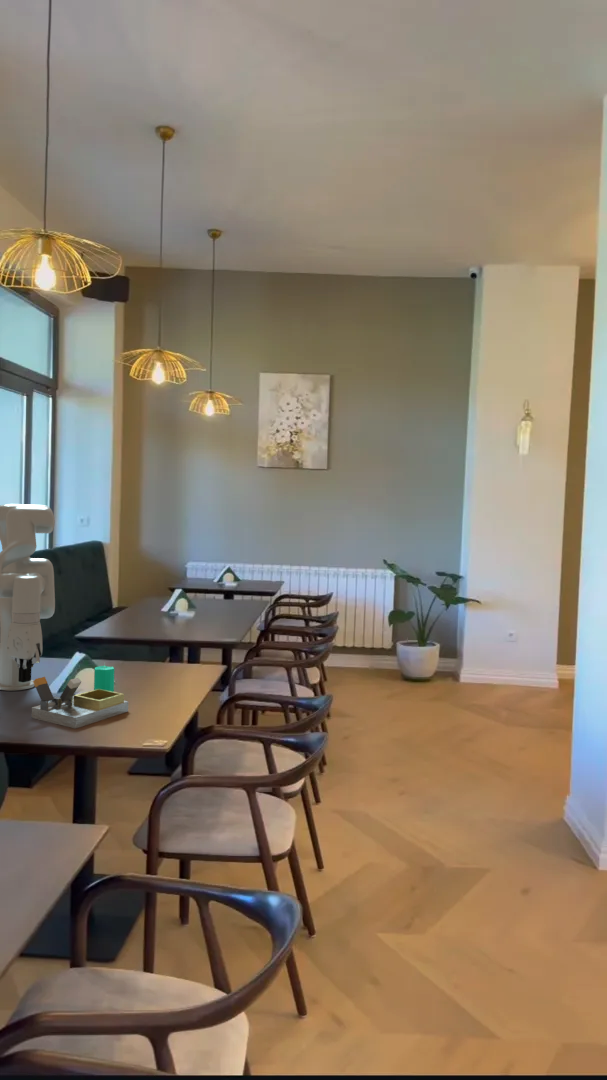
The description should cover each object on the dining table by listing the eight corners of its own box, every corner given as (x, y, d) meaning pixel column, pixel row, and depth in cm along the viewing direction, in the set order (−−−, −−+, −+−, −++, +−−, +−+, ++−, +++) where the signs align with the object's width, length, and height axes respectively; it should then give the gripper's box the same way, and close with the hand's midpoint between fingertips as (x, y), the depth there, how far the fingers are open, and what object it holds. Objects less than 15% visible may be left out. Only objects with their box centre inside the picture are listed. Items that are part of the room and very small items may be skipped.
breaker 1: (44, 709, 214) (32, 681, 216) (53, 706, 217) (41, 679, 219) (48, 706, 214) (36, 678, 216) (56, 704, 216) (44, 676, 218)
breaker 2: (56, 701, 219) (70, 679, 216) (64, 699, 222) (78, 677, 219) (60, 705, 218) (73, 683, 216) (68, 703, 221) (81, 681, 218)
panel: (31, 717, 216) (32, 698, 215) (85, 702, 234) (86, 684, 234) (75, 728, 208) (75, 708, 207) (128, 711, 226) (128, 693, 226)
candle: (108, 704, 232) (109, 665, 232) (90, 702, 234) (91, 664, 233) (116, 699, 238) (118, 661, 238) (99, 697, 239) (100, 660, 239)
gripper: (-3, 617, 220) (-4, 679, 221) (34, 622, 212) (32, 687, 213) (18, 614, 226) (17, 675, 227) (54, 619, 219) (53, 682, 220)
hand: (24, 681), depth 220 cm, fingers closed
